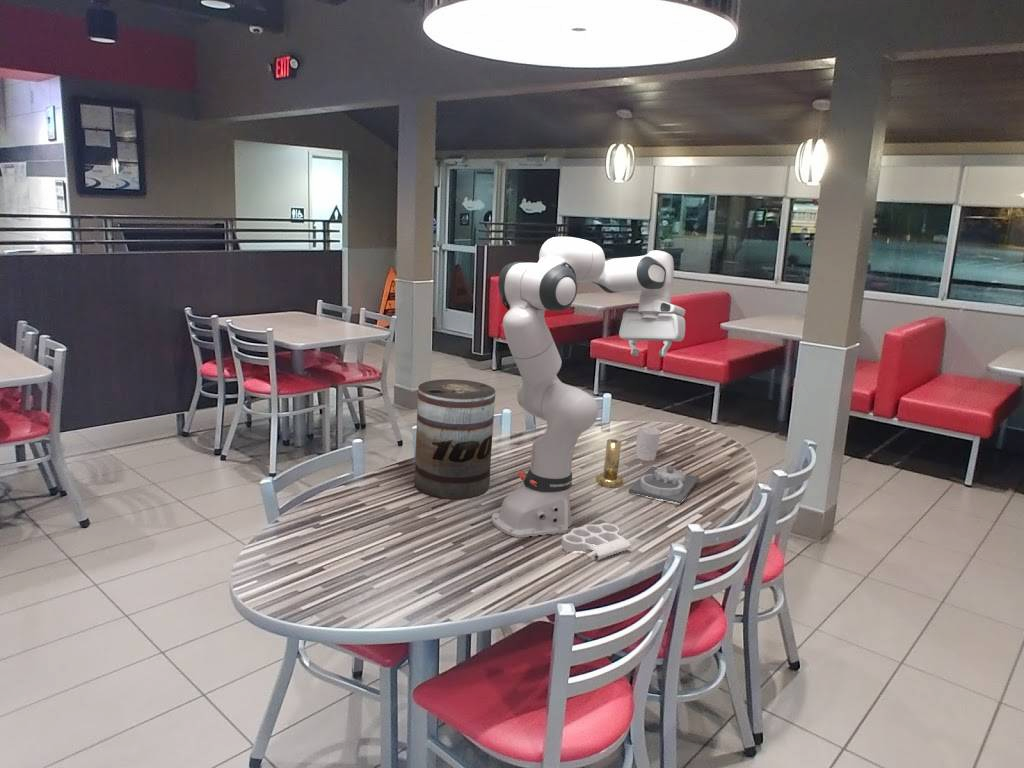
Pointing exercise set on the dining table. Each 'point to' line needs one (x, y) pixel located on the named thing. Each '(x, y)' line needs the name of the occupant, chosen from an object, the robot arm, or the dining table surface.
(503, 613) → the dining table surface
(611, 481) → the gold metal upright post
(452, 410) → the barrel
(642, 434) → the white cup
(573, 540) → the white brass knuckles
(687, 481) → the board
